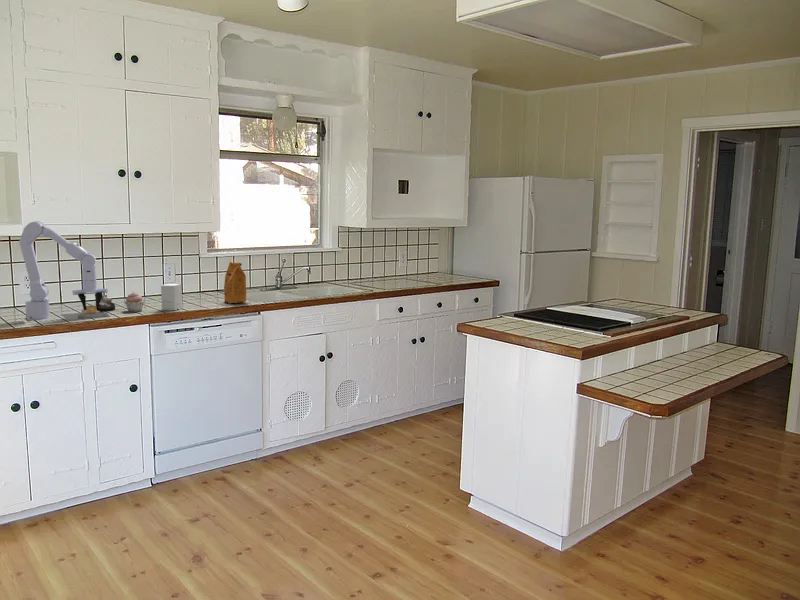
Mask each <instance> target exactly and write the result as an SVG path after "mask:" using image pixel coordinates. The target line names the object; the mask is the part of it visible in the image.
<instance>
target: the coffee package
mask: <svg viewBox="0 0 800 600" xmlns="http://www.w3.org/2000/svg"><path fill="white" fill-rule="evenodd" d="M242 265H243V264H242V263H241V262H233V261H232V260H231V261H229V263H228V266H227V269H226V271H225V276H224V284H223V285H224V287H223V290H224V291H223V292H224V293H223V294H224V298H223V299H224V302H225V301H226V302H225V303H227V302H228V303H227V304H231V303H235V304H241V303H245V302H247V276H246V274H245V272H244V270H243V268H242V267H241V266H242Z"/></svg>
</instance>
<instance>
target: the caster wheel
mask: <svg viewBox="0 0 800 600" xmlns="http://www.w3.org/2000/svg"><path fill="white" fill-rule="evenodd" d="M112 301H113V299H112V297H108V294H105V295H104V294H103V296H102V298H101V300H100V303H99V308H98V309H97V311H99V312H101V311H102V312H113V311H114V312H115V310H116V305H115V303H114V302H112Z"/></svg>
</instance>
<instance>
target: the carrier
mask: <svg viewBox="0 0 800 600" xmlns="http://www.w3.org/2000/svg"><path fill="white" fill-rule="evenodd" d="M82 312H85V310H84V308H83V309H82V310H81V312H78V313H77V312H76V313H75V312H74V313H65V314H63V313H62V314H61V316H62V317H63V318H64V319H65V320H66V321H73V320H74V321H75V320H84V319H85V320H86V319H88V320H89V319H97V318H98V319H99V318H109V317H111V316H110V315H109V311H99V312H100V313H94V314H82Z"/></svg>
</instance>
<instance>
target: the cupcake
mask: <svg viewBox="0 0 800 600" xmlns="http://www.w3.org/2000/svg"><path fill="white" fill-rule="evenodd" d="M124 304H125V305H126V309H127V311H128V312H130V313H138V311H139V312H141V311H142V310H143V307H144V304H145V300H143V296H142V295H141V294H139V293H138V292H136V291H135V290H133V291H132V293H129V294H128V295H127V297H126V298H125V301H124Z"/></svg>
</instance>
